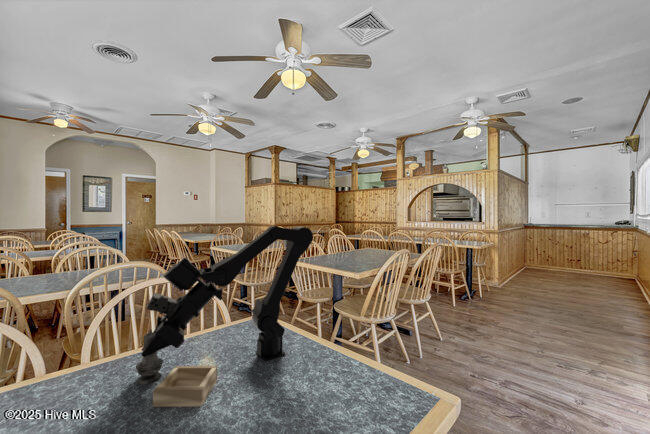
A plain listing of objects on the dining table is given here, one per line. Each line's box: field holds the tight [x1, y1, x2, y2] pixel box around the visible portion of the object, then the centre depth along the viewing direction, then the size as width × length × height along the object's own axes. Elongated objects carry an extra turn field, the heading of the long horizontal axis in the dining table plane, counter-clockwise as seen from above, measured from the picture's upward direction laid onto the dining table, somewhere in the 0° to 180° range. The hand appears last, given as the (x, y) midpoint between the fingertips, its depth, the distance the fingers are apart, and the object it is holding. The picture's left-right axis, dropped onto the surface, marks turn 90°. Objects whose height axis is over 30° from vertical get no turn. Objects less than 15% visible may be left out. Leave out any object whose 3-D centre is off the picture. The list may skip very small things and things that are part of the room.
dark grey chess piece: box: [135, 329, 164, 385], centre depth 72 cm, size 6×6×12 cm
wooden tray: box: [152, 365, 218, 408], centre depth 66 cm, size 10×10×4 cm
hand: (143, 352), depth 71 cm, fingers closed on dark grey chess piece, 4 cm apart
